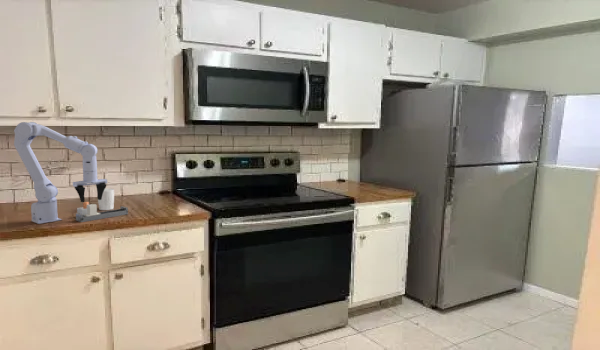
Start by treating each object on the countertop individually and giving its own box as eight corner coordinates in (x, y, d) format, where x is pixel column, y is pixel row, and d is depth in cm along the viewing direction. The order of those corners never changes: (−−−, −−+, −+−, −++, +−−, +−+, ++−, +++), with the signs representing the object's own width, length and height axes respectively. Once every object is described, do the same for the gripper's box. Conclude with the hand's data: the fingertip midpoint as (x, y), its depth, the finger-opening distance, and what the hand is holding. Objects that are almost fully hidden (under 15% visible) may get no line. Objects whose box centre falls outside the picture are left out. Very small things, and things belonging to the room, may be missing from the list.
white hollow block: (82, 218, 186) (82, 209, 186) (77, 216, 189) (77, 208, 188) (95, 215, 191) (95, 207, 190) (90, 214, 194) (90, 206, 193)
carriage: (87, 218, 181) (86, 206, 180) (83, 217, 183) (83, 205, 182) (100, 216, 186) (99, 204, 185) (96, 215, 188) (96, 203, 187)
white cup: (96, 210, 201) (95, 191, 200) (99, 207, 209) (98, 188, 207) (113, 210, 203) (112, 190, 202) (116, 207, 211) (115, 188, 210)
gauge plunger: (84, 212, 188) (84, 203, 187) (82, 211, 189) (82, 202, 189) (90, 211, 190) (89, 202, 189) (87, 210, 191) (87, 201, 191)
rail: (81, 222, 178) (80, 215, 178) (76, 220, 181) (75, 213, 181) (128, 214, 196) (127, 207, 195) (122, 212, 199) (122, 206, 198)
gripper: (77, 173, 174) (78, 204, 175) (110, 170, 185) (111, 199, 187) (70, 171, 178) (71, 201, 180) (102, 169, 189) (103, 197, 191)
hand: (91, 200), depth 184 cm, fingers open, 7 cm apart
